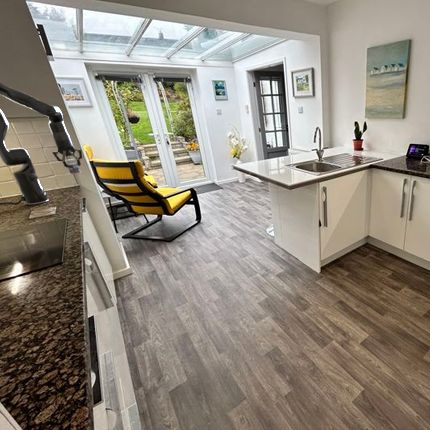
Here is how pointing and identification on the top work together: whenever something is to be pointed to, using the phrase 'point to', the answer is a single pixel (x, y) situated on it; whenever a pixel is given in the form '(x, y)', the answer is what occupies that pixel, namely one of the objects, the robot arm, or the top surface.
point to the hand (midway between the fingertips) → (73, 166)
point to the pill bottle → (73, 166)
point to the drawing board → (42, 213)
